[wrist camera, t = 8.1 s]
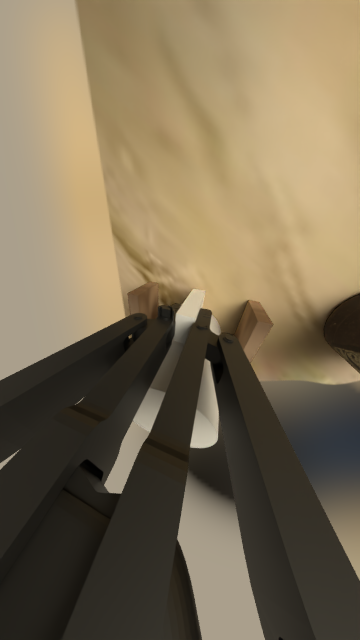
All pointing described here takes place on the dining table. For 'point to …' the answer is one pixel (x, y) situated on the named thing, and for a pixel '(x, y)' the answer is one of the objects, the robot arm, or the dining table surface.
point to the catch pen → (248, 331)
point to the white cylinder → (207, 402)
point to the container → (345, 331)
